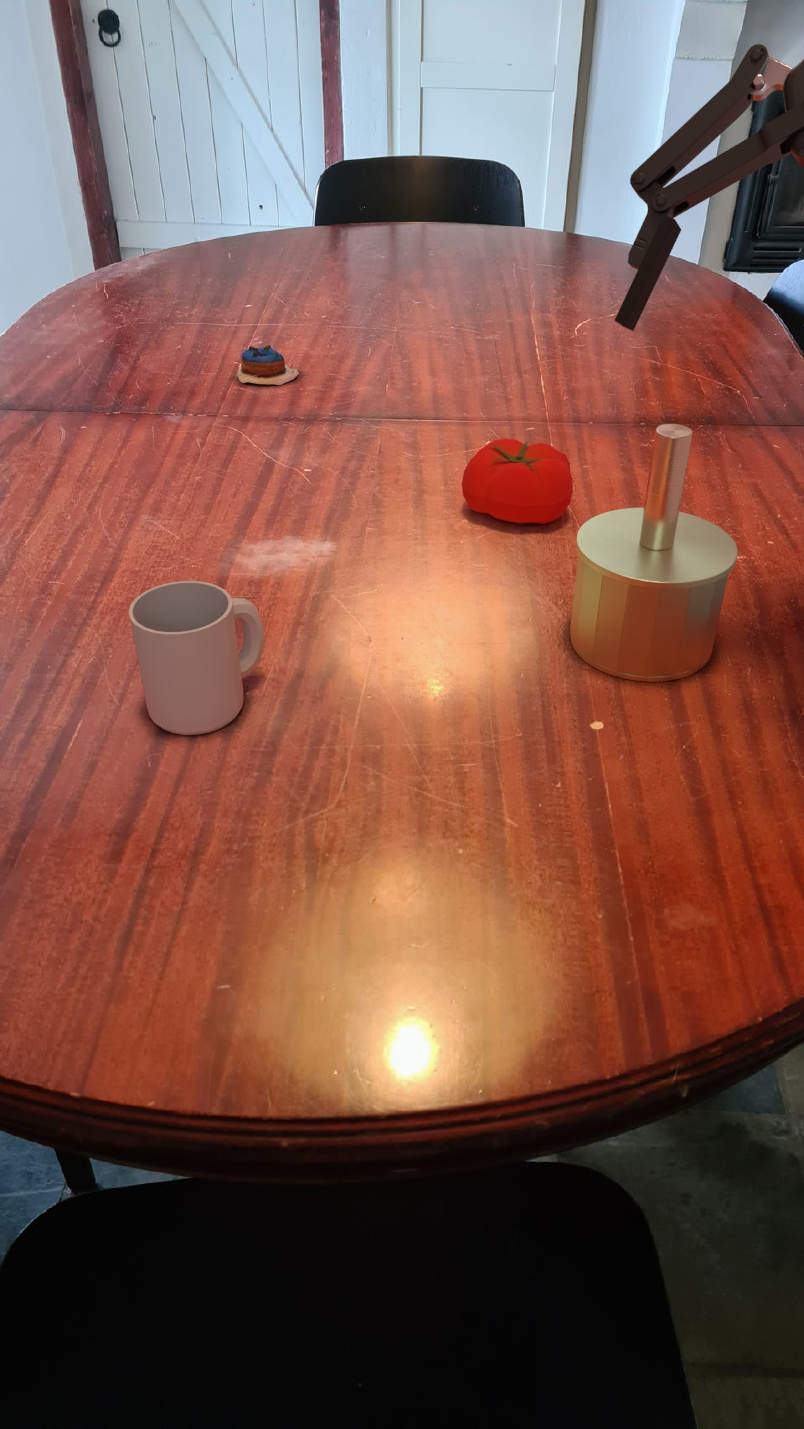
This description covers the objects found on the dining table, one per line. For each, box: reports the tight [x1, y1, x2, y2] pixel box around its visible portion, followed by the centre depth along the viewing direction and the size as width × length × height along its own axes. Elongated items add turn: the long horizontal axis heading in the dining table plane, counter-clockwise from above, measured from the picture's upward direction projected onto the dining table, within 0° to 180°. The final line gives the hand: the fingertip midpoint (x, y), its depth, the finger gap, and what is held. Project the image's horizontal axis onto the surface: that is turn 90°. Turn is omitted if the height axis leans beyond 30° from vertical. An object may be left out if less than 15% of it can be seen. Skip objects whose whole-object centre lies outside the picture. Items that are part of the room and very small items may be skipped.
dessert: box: [237, 344, 300, 386], centre depth 135 cm, size 8×7×6 cm
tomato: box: [461, 437, 574, 525], centre depth 102 cm, size 10×11×6 cm
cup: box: [128, 580, 265, 736], centre depth 76 cm, size 7×10×9 cm
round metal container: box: [569, 553, 729, 683], centre depth 82 cm, size 11×11×8 cm
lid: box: [575, 423, 739, 589], centre depth 77 cm, size 12×12×10 cm
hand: (720, 369), depth 64 cm, fingers open, 13 cm apart
